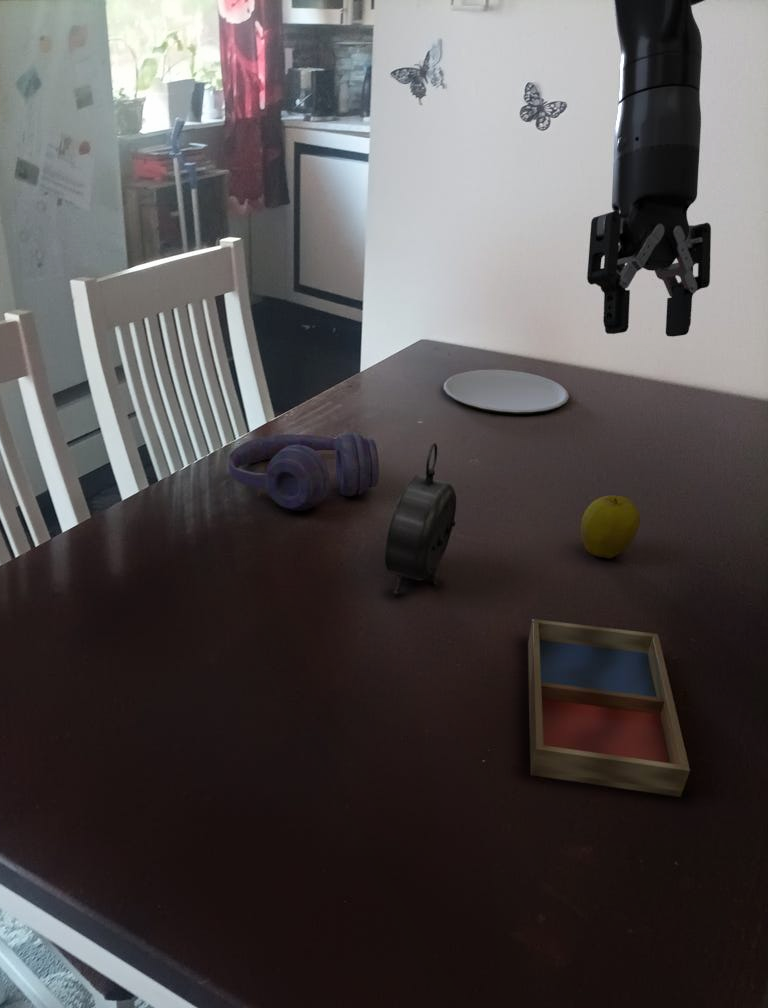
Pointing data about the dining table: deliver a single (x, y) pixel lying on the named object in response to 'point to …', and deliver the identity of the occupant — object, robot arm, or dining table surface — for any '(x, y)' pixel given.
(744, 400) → the dining table surface
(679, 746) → the sorting tray
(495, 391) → the plate
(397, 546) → the alarm clock
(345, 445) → the headphones
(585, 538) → the apple
